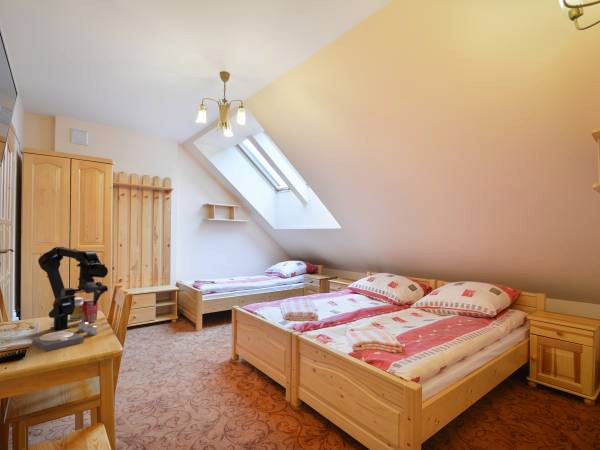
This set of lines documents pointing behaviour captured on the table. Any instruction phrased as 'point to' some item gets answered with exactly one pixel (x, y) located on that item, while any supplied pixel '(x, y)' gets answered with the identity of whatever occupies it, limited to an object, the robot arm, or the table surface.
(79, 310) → the pill bottle
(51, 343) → the scale
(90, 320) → the soda can
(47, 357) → the table surface
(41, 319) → the table surface
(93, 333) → the cylinder
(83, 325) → the cylinder
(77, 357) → the table surface
